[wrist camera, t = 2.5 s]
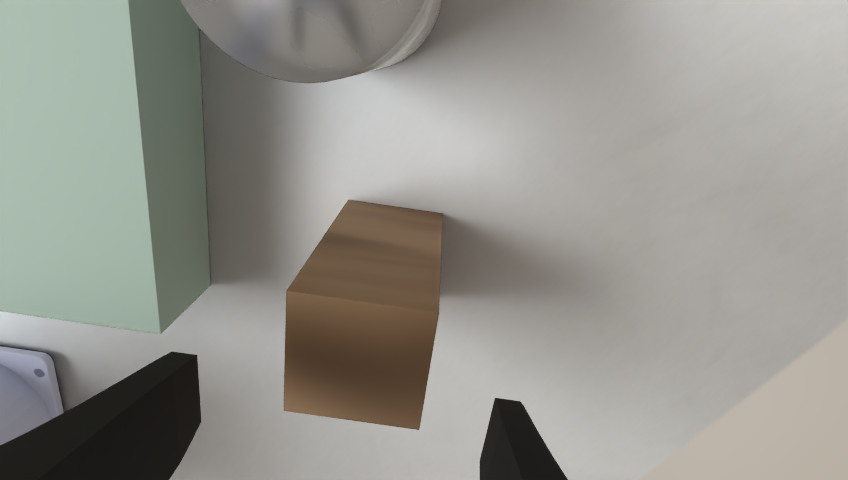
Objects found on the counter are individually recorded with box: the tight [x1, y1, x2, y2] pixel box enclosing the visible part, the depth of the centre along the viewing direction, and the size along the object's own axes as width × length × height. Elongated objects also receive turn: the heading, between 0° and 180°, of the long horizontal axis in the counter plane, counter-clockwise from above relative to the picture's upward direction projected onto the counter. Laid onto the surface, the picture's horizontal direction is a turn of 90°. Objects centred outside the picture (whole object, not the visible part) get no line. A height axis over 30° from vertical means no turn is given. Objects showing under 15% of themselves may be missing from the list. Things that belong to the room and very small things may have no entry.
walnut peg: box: [284, 200, 443, 430], centre depth 17 cm, size 4×4×8 cm
